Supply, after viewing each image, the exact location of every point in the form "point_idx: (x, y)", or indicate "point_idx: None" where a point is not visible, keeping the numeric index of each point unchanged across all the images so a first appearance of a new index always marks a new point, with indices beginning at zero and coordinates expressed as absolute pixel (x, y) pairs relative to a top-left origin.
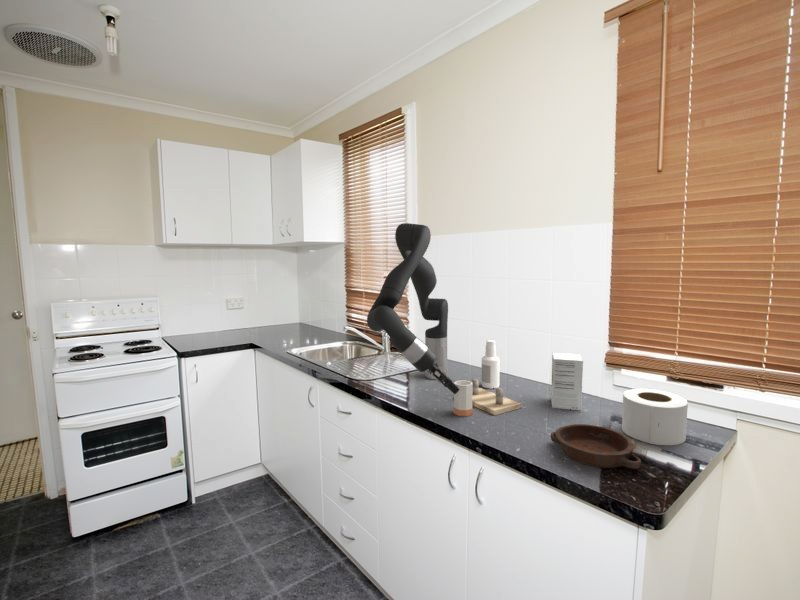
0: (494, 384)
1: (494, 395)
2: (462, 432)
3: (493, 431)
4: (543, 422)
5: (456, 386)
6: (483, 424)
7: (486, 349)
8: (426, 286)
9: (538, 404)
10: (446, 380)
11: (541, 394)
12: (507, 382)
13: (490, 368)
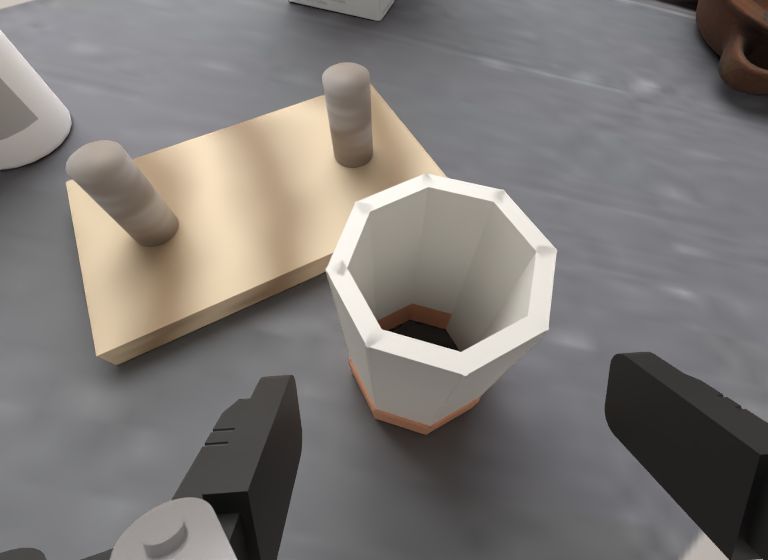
0: (55, 108)
1: (224, 146)
2: None
3: (677, 265)
4: (530, 76)
5: (687, 377)
6: (591, 290)
7: None
8: None
9: (336, 44)
10: (284, 469)
11: (228, 11)
12: None
13: None
